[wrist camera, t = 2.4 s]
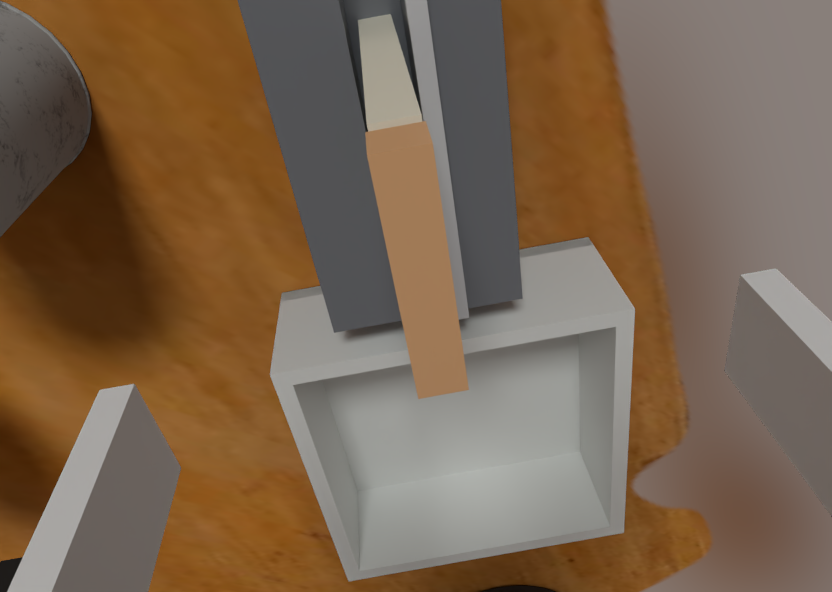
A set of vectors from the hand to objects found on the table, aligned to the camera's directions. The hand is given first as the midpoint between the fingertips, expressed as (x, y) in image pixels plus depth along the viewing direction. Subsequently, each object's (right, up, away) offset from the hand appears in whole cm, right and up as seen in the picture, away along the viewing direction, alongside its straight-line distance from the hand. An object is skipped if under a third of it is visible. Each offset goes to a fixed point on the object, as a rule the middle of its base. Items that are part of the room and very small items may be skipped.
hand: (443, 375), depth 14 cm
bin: (+2, -4, +33) cm, 33 cm away
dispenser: (-2, +13, +20) cm, 24 cm away
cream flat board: (-2, +11, +17) cm, 20 cm away
